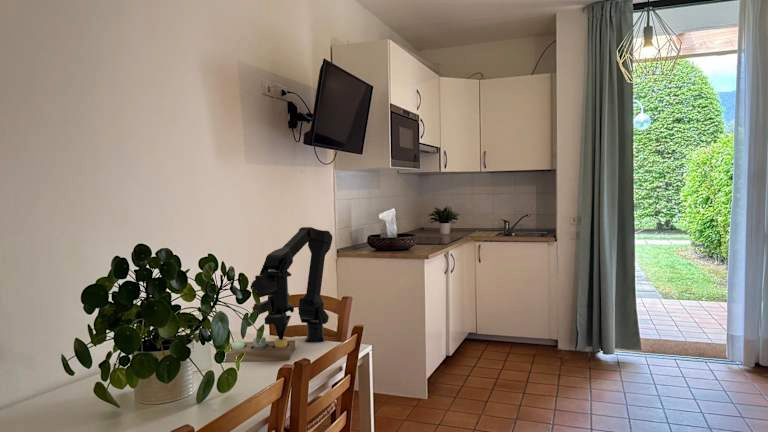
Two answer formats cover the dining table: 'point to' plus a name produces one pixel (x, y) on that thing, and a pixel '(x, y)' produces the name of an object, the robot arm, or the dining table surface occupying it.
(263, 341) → the button slate
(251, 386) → the dining table surface
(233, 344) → the button sage
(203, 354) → the cup
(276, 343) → the button amber
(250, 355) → the brown button tray
